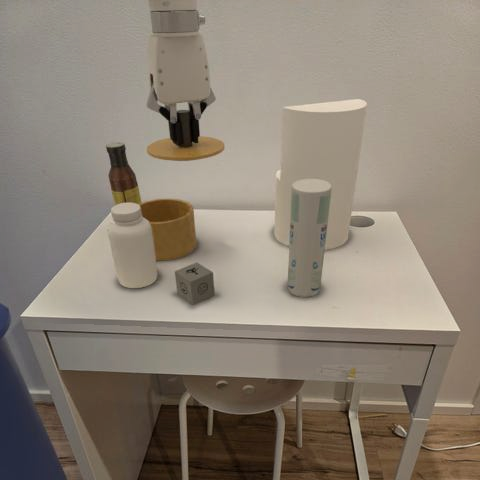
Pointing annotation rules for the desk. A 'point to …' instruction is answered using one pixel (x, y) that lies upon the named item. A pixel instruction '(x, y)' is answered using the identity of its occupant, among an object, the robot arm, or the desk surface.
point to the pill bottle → (132, 246)
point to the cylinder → (320, 161)
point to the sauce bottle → (122, 176)
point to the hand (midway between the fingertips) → (185, 142)
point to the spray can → (307, 235)
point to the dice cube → (194, 283)
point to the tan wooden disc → (185, 144)
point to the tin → (170, 227)
